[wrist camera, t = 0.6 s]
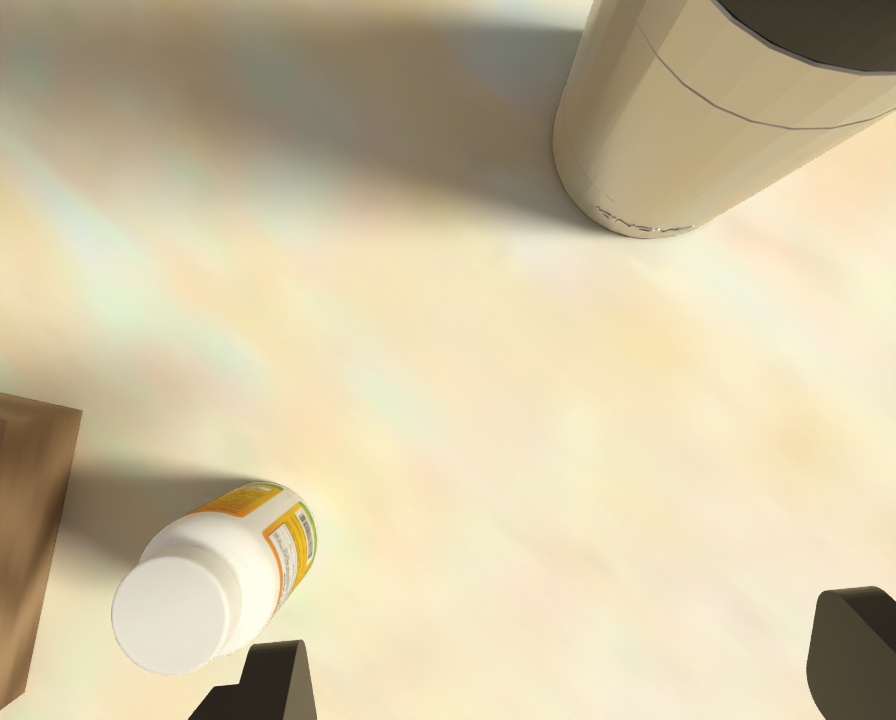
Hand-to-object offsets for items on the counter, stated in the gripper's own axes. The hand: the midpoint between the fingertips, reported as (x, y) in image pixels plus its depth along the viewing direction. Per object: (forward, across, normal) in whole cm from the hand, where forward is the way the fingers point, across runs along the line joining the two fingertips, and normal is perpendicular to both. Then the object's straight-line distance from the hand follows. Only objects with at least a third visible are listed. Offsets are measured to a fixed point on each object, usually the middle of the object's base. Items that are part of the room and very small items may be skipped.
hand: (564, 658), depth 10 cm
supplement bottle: (+19, +10, +10) cm, 24 cm away
